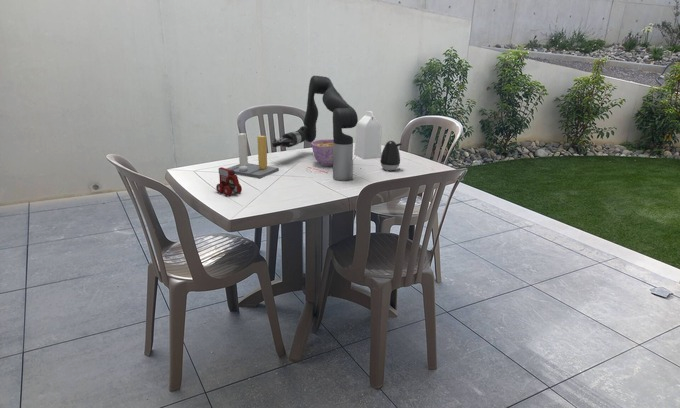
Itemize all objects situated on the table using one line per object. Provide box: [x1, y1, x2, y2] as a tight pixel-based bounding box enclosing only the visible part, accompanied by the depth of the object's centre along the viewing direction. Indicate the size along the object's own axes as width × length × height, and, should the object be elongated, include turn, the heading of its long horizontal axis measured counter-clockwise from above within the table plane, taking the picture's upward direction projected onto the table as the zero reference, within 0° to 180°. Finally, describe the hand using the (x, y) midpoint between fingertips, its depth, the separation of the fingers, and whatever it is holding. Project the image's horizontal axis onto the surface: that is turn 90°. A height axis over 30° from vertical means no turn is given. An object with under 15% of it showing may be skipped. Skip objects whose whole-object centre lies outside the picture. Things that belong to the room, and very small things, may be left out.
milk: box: [353, 110, 382, 160], centre depth 251 cm, size 12×12×26 cm
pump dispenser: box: [380, 140, 402, 171], centre depth 225 cm, size 10×10×15 cm
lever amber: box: [256, 135, 268, 169], centre depth 216 cm, size 3×3×16 cm
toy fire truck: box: [215, 166, 243, 197], centre depth 185 cm, size 7×12×10 cm, turn 50°
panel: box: [226, 162, 280, 179], centre depth 218 cm, size 22×16×2 cm
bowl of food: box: [310, 139, 333, 167], centre depth 234 cm, size 20×20×12 cm
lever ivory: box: [237, 132, 249, 166], centre depth 221 cm, size 3×3×16 cm
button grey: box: [239, 166, 248, 172], centre depth 214 cm, size 4×4×2 cm
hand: (273, 145), depth 224 cm, fingers closed
